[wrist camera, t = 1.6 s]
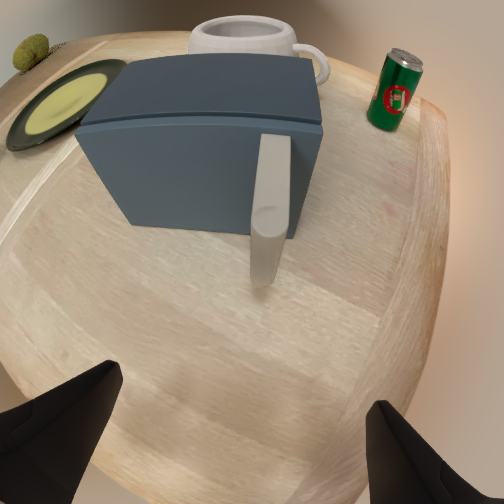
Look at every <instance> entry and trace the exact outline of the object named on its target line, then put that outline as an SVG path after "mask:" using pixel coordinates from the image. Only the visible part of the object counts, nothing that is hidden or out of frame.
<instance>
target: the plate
mask: <svg viewBox="0 0 504 504" xmlns="http://www.w3.org/2000/svg"><path fill="white" fill-rule="evenodd" d="M127 66H128V64H127V63H126V62H125V61H122V60H119V59H107V60H101V61H97V62H93V63H90V64H87V65H85V66H82V67H80V68H78V69H75V70H73V71H71V72H69V73H68V74H66V75H64V76H62V77H61V78H59V79H57V80H56V81H54V82H53V83H51V84H50V85H49V86H47V87H46V88H45V89H43V90H42V91H41V92H40V93H39V94H38V95H36V96H35V97H34V98H33V99H32V100H31V101H30V102H29V103H28V104H27V105H26V106H25V107H24V109H23V110H22V111H21V112H20V114H19V115H18V116H17V118H16V119H15V121H14V122H13V124H12V126H11V128H10V130H9V132H8V135H7V139H6V145H7V148H8V150H9V151H12V152H15V151H22V150H25V149H28V148H31V147H33V146H35V145H38V144H40V143H42V142H43V141H45V140H47V139H49V138H51V137H53V136H54V135H56V134H58V133H59V132H61V131H63V130H64V129H66V128H67V127H69V126H70V125H72V124H73V123H75V122H76V121H78V120H79V119H80V118H82V117H83V116H84V115H86V114H87V113H88V111H89V110H90V109H91V107H92V106H93V105H94V103H95V102H96V101H97V100H98V98H99V97H100V96H101V95H102V94H103V92H104V91H105V90H106V89H107V88H108V86H109V85H110V84H111V83H112V82H113V81H114V80H115V78H116V77H117V76H118V75H119V74H120V73H121V72H122V71H123V70H124V69H125V68H126V67H127Z"/></svg>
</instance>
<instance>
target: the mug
mask: <svg viewBox="0 0 504 504" xmlns="http://www.w3.org/2000/svg"><path fill="white" fill-rule="evenodd" d="M203 53H254V54H270V55H282V56H291V57H299V53H309V54H311V55H312V56H313V57H315V58H316V59H317V61H318V62H319V64H320V67H321V70H320V73H319V75H318V76H317V77H315V79H316V85H317V86H320V85H322V84H324V83H325V82H326V81H327V79H328V78H329V75H330V65H329V62H328V60H327V58H326V57H325V55H324V54H323V53H322V52H320V51H319V50H318V49H317V48H315V47H313V46H311V45H306V44H297V39H296V35H295V32H294V30H293V29H292V27H291V26H289V25H288V24H286V23H284V22H282V21H279V20H276V19H273V18H268V17H262V16H246V15H245V16H244V15H242V16H228V17H221V18H217V19H213V20H209V21H207V22H204V23H202V24H200V25H198V26H197V27H195V29H194V30H193V32H192V33H191V35H190V39H189V44H188V54H203Z"/></svg>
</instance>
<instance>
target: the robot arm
mask: <svg viewBox="0 0 504 504" xmlns="http://www.w3.org/2000/svg"><path fill="white" fill-rule="evenodd" d="M122 383H123V376H122V372H121V369H120V365H119V364H118V363H117V362H115V361H112V360H106V361H104V362H102V363H100V364H99V365H97V366H95V367H93V368H91V369H89V370H87V371H86V372H84V373H82V374H80V375H78V376H76V377H74V378H72V379H71V380H69V381H67V382H65V383H63V384H61V385H59V386H57V387H55V388H53V389H52V390H50V391H48V392H46V393H44V394H42V395H40V396H38V397H36V398H35V399H32V400H30V401H28V402H26V403H24V404H22V405H20V406H18V407H15V408H13V409H10V410H8V411H5V412H2V413H0V504H71V503H72V500H73V498H74V495H75V493H76V490H77V488H78V486H79V483H80V481H81V479H82V476H83V474H84V472H85V470H86V467H87V465H88V463H89V461H90V459H91V456H92V454H93V452H94V450H95V448H96V446H97V443H98V441H99V439H100V437H101V435H102V433H103V431H104V429H105V427H106V425H107V423H108V421H109V418H110V416H111V414H112V411H113V408H114V405H115V403H116V400H117V397H118V394H119V391H120V389H121V386H122ZM366 458H367V468H368V478H369V490H370V504H504V499H501V498H490V497H487V496H485V495H483V494H481V493H480V492H479V491H478V490H476V489H475V488H474V487H473V486H471V485H470V484H469V483H468V482H466V481H465V480H464V479H463V478H462V477H460V476H459V475H458V474H457V473H456V472H455V471H454V470H453V469H452V468H451V467H450V466H449V465H448V464H447V463H446V462H445V461H444V460H443V459H442V458H441V457H440V456H439V455H438V454H437V453H436V452H435V450H434V449H433V448H432V447H431V446H430V445H429V444H428V443H427V442H426V441H425V440H424V439H423V438H422V437H421V436H420V435H419V434H418V433H417V432H416V430H414V429H413V427H412V426H411V425H410V424H409V423H408V422H407V421H406V420H405V419H404V418H403V417H402V416H401V415H400V414H399V412H398V411H397V410H396V409H395V408H394V407H393V406H392V405H391V404H390V403H389V402H388V401H387V400H377V401H375V402H374V404H373V405H372V407H371V408H370V410H369V411H368V413H367V415H366Z"/></svg>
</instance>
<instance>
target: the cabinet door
mask: <svg viewBox="0 0 504 504" xmlns="http://www.w3.org/2000/svg"><path fill="white" fill-rule="evenodd" d="M74 135H75V137H76V139H77V141H78V142H79V144H80V146H81V148H82V149H83V151H84V153H85V154H86V156H87V158H88V159H89V161H90V163H91V164H92V166H93V168H94V169H95V171H96V172H97V174H98V176H99V177H100V179H101V180H102V182H103V184H104V185H105V187H106V188H107V190H108V191H109V193H110V194H111V196H112V197H113V199H114V200H115V202H116V203H117V205H118V206H119V208H120V209H121V211H122V212H123V214H124V215H125V217H126V218H127V219H128V221H129V222H130V224H131V225H140V226H153V227H166V228H179V229H192V230H204V231H215V232H227V233H238V234H249V235H251V246H250V279H251V281H252V283H253V284H254V285H256V286H258V287H267V286H269V285H271V284H272V283H273V281H274V279H275V275H276V271H277V268H278V264H279V260H280V256H281V253H282V249H283V245H284V241H285V238H291V239H293V236H294V233H295V230H296V226H297V223H298V220H299V217H300V213H301V210H302V207H303V203H304V200H305V197H306V193H307V190H308V186H309V183H310V179H311V176H312V172H313V169H314V165H315V162H316V158H317V155H318V151H319V147H320V144H321V140H322V136H323V129H322V125H316V124H309V123H301V122H293V121H284V120H274V119H263V118H248V117H226V116H179V117H157V118H143V119H132V120H122V121H114V122H106V123H99V124H92V125H86V126H80V127H79V128H78V129H77V130H76V132H75V133H74Z"/></svg>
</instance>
